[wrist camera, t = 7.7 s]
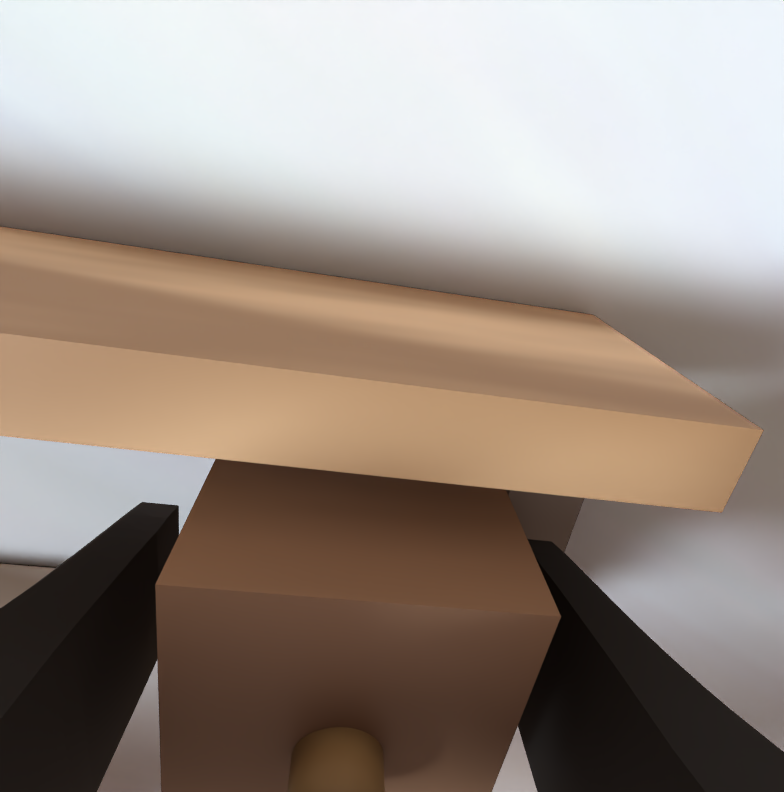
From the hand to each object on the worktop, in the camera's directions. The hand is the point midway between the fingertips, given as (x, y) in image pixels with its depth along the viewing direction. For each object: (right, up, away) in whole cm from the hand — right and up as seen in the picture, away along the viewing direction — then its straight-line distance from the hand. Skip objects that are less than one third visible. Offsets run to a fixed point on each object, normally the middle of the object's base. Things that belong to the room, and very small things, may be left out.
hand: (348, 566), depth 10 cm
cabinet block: (0, +1, +3) cm, 3 cm away
